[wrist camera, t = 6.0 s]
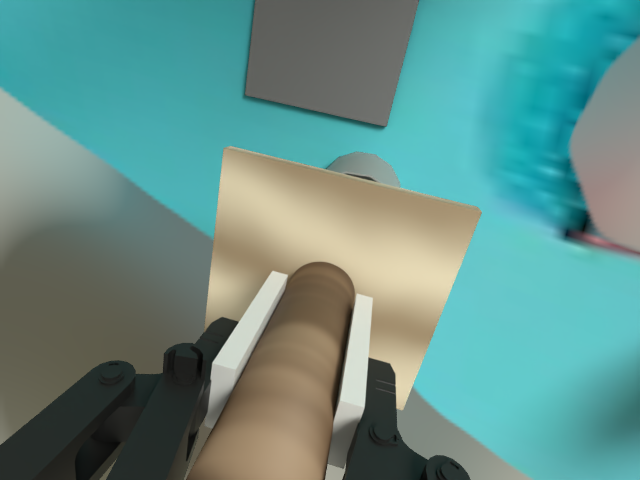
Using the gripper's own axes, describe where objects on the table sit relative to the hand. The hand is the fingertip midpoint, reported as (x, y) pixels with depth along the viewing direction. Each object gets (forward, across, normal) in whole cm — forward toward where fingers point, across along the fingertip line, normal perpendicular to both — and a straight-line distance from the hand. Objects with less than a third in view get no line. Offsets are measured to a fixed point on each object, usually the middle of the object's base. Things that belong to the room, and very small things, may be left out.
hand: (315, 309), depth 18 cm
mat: (+23, -6, +16) cm, 28 cm away
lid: (+3, 0, 0) cm, 3 cm away
